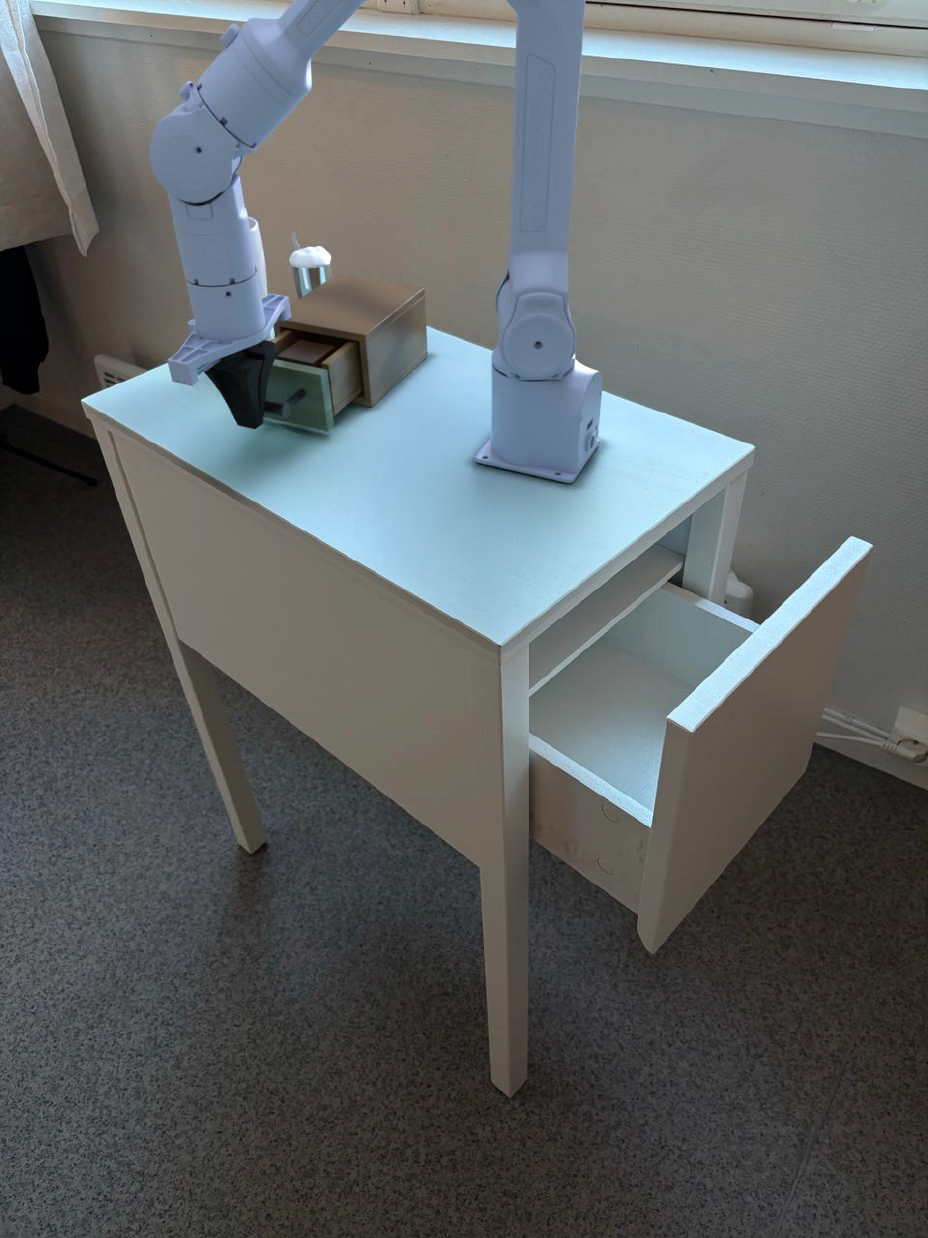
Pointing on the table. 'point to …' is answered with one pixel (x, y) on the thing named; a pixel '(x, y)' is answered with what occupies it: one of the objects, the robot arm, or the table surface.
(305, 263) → the milkshake
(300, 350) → the block
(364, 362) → the cabinet
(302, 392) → the drawer
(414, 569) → the table surface
